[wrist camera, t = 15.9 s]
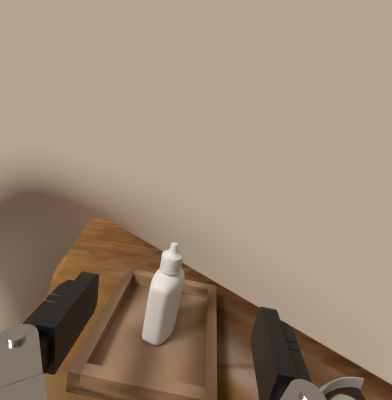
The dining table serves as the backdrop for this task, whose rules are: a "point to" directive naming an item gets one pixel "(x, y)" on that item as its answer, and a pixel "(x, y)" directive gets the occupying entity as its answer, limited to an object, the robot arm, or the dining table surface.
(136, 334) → the walnut tray
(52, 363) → the robot arm
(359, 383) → the food container
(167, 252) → the eye dropper bottle
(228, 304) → the dining table surface
